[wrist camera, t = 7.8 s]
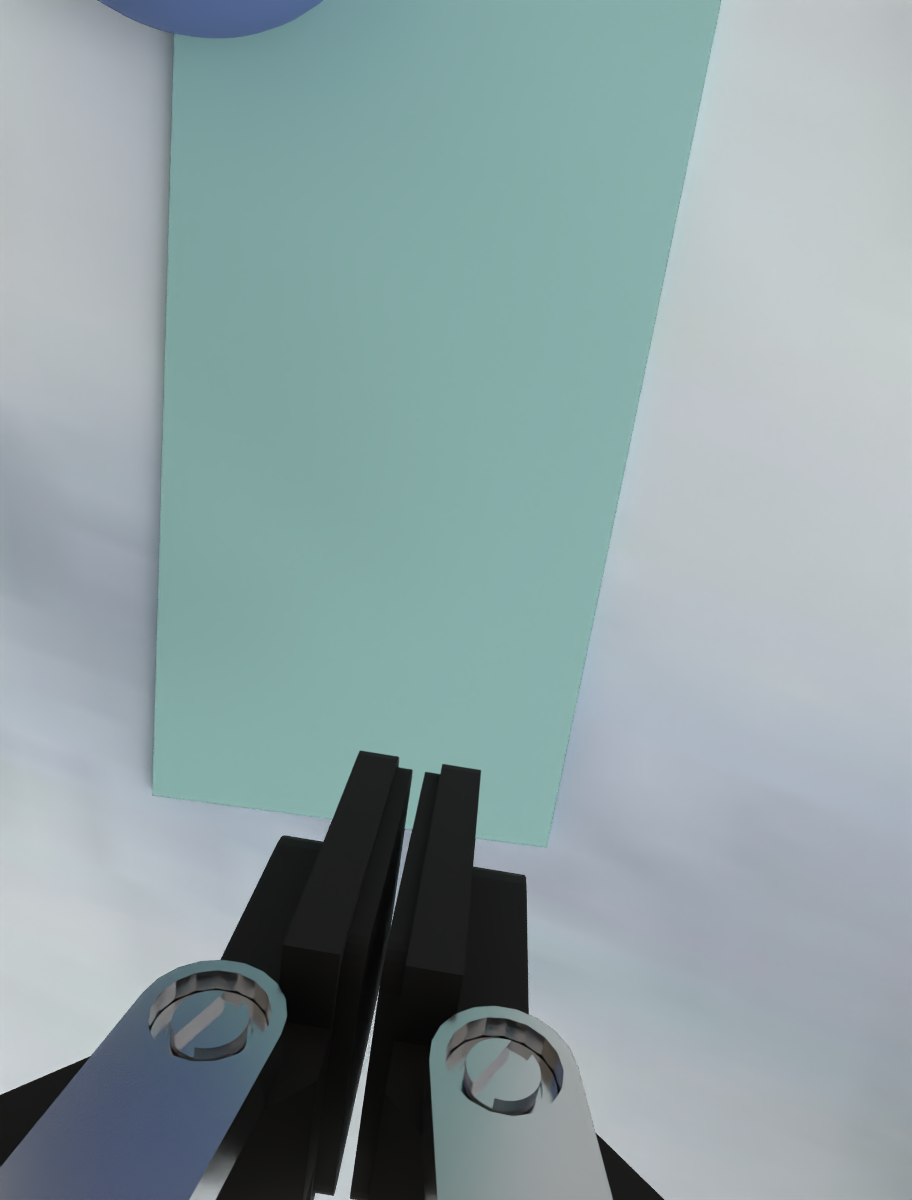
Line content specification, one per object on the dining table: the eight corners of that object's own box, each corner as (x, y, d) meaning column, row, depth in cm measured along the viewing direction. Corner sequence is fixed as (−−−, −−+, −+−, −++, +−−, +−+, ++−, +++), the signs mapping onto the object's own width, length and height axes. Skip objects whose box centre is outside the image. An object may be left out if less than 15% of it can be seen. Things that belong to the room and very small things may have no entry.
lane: (991, -1328, 10) (1002, -1359, 10) (545, 842, 20) (546, 848, 19) (223, -1483, 10) (218, -1519, 9) (155, 790, 19) (152, 795, 19)
